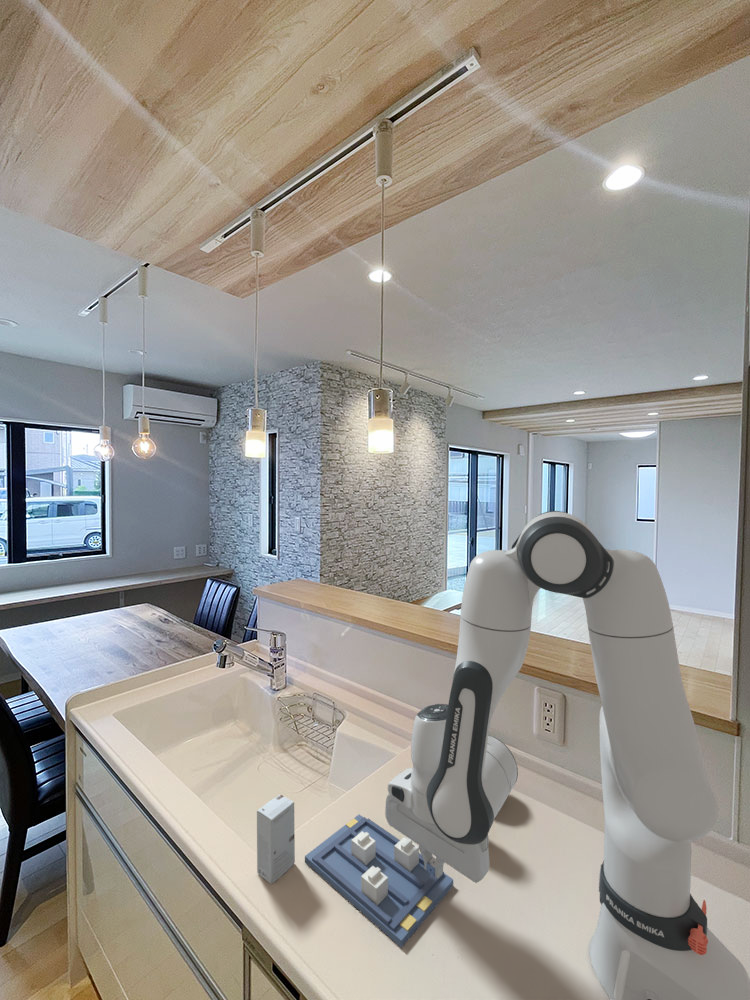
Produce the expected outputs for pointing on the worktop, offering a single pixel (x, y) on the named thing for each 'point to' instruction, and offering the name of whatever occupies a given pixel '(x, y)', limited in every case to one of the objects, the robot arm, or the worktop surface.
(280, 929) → the worktop surface
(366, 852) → the tab
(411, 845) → the tab
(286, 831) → the skincare box
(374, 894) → the tab
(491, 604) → the robot arm
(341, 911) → the worktop surface
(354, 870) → the switch bank
